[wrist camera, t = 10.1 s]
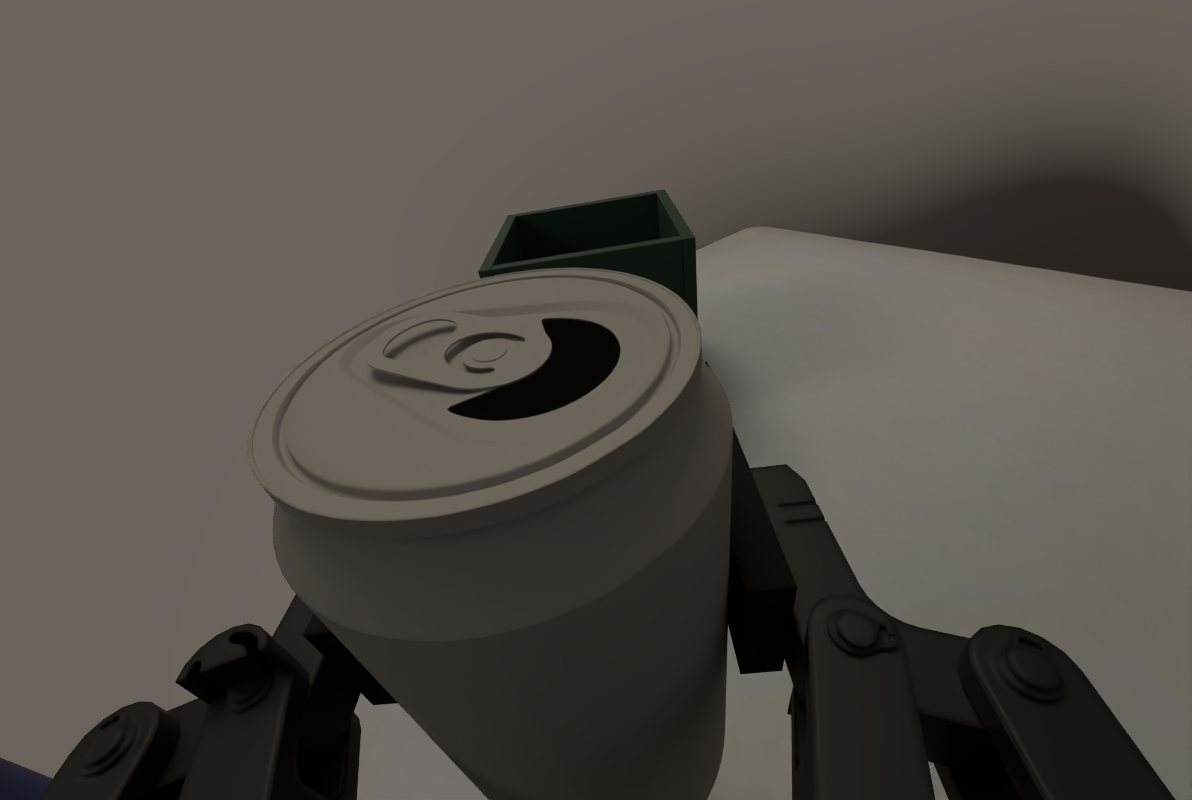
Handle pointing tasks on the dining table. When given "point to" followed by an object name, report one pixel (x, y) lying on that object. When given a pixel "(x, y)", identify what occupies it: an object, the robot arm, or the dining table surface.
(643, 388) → the beverage can
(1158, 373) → the dining table surface
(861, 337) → the dining table surface
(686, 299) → the waste bin
